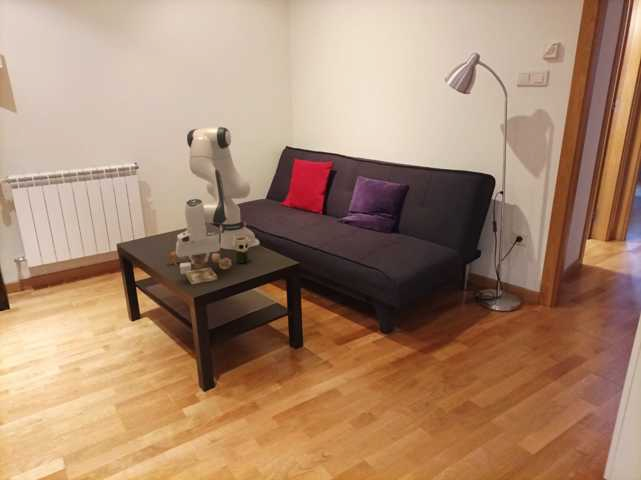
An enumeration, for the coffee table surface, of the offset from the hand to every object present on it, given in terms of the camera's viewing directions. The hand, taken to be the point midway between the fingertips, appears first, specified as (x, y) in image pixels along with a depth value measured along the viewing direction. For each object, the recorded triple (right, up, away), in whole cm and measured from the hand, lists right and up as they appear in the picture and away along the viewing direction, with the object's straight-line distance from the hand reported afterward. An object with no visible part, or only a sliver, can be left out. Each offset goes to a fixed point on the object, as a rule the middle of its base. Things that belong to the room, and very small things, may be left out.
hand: (199, 262), depth 229 cm
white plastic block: (-9, -5, +10) cm, 14 cm away
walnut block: (0, -2, +1) cm, 2 cm away
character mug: (+17, -1, +22) cm, 28 cm away
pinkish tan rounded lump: (+3, -1, +23) cm, 23 cm away
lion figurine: (-15, -2, +22) cm, 26 cm away
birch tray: (0, -7, +3) cm, 8 cm away
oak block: (+9, -3, +15) cm, 18 cm away
